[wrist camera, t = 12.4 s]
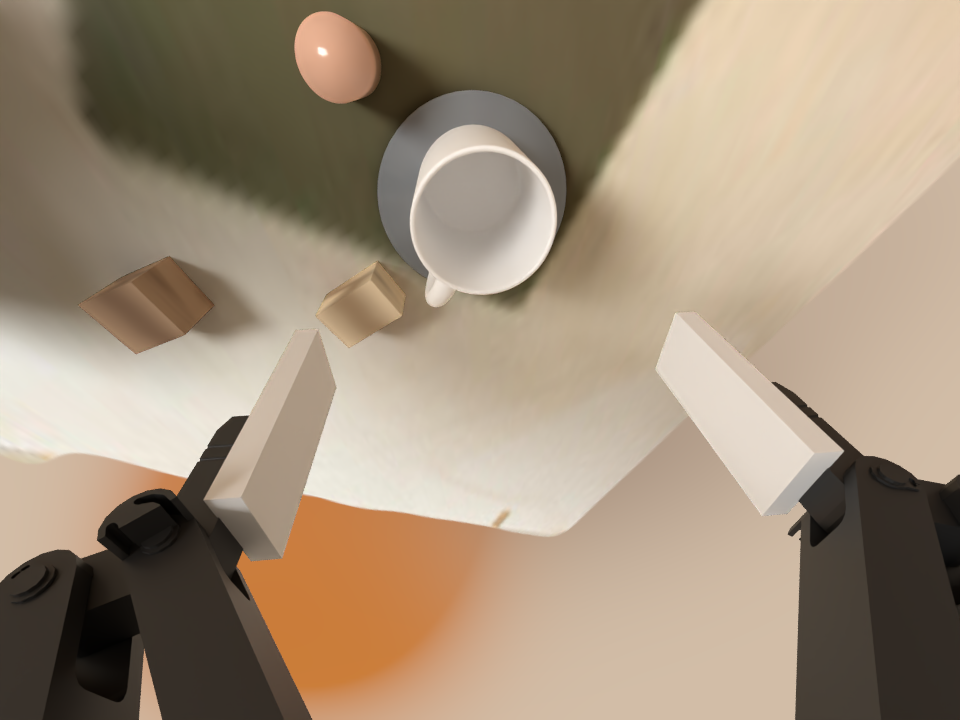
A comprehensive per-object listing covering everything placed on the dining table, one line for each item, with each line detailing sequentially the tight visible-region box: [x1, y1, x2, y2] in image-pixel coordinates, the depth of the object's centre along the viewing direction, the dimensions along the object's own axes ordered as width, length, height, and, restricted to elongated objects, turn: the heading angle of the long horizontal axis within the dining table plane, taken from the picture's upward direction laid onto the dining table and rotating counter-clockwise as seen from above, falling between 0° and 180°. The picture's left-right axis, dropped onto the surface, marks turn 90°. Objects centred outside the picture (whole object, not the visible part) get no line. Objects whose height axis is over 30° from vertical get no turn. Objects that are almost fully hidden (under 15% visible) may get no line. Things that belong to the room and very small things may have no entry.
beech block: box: [316, 261, 406, 348], centre depth 34 cm, size 6×4×4 cm, turn 121°
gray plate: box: [377, 90, 566, 278], centre depth 31 cm, size 15×15×1 cm
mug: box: [410, 124, 557, 307], centre depth 26 cm, size 12×8×10 cm
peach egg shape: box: [295, 11, 382, 104], centre depth 23 cm, size 4×4×5 cm
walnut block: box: [78, 256, 214, 354], centre depth 32 cm, size 5×5×5 cm
